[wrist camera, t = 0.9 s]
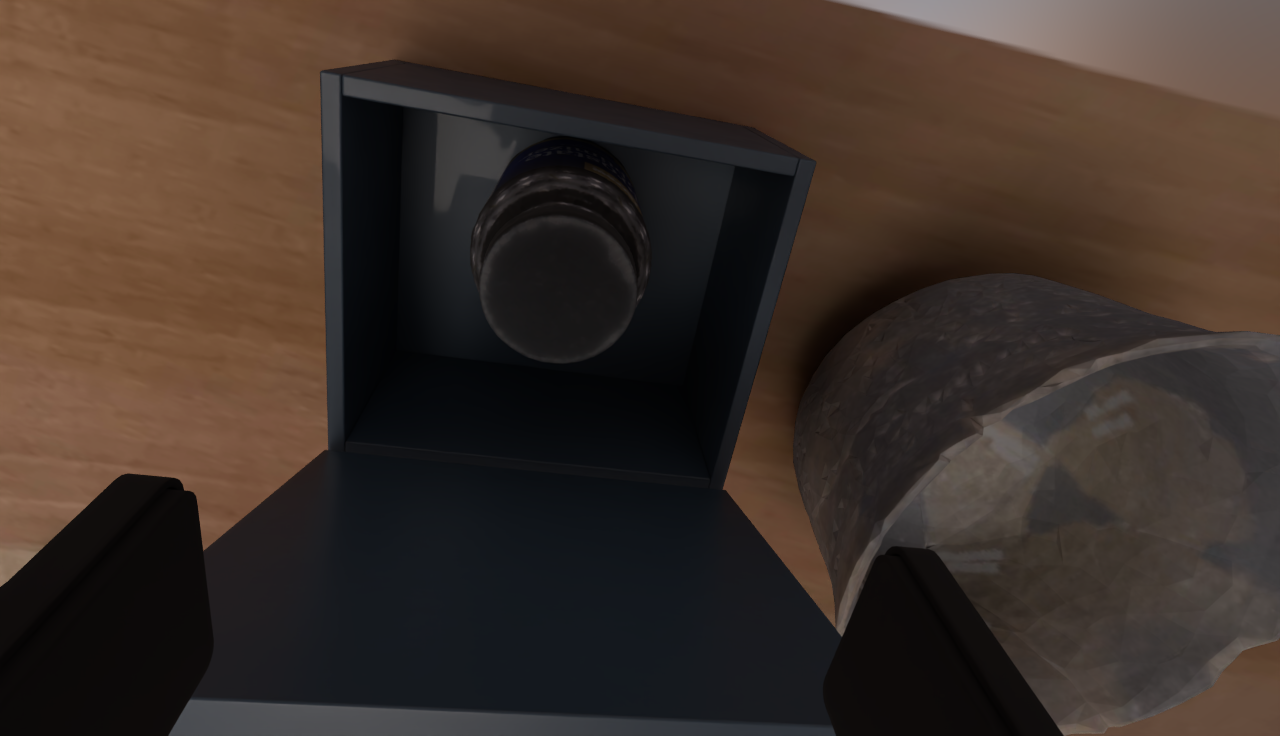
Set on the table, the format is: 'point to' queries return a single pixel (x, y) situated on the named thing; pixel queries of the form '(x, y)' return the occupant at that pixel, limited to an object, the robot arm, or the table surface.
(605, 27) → the table surface
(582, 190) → the pill bottle
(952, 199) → the table surface
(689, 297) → the chest
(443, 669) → the lid
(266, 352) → the table surface
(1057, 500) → the bowl
